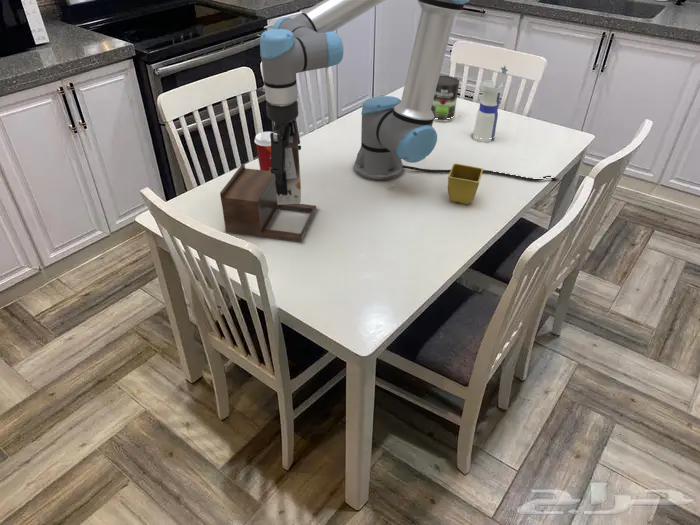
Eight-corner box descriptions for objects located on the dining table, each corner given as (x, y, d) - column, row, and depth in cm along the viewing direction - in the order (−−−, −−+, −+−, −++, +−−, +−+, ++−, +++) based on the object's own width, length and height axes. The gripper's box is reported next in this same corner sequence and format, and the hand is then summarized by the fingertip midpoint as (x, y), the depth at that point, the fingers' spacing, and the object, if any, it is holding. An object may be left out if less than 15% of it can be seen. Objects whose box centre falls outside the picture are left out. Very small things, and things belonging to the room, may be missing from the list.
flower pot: (478, 194, 161) (483, 167, 155) (474, 209, 154) (479, 182, 149) (449, 189, 163) (453, 162, 158) (444, 203, 157) (447, 176, 151)
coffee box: (301, 204, 139) (297, 147, 129) (276, 205, 139) (271, 148, 129) (301, 186, 146) (297, 131, 136) (277, 187, 146) (272, 132, 136)
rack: (316, 210, 153) (315, 172, 146) (301, 242, 141) (299, 202, 133) (246, 201, 156) (242, 164, 149) (226, 232, 144) (219, 193, 136)
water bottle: (477, 130, 197) (488, 60, 182) (498, 136, 193) (512, 66, 178) (467, 137, 192) (478, 67, 176) (489, 144, 188) (502, 72, 173)
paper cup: (278, 185, 164) (275, 143, 155) (255, 182, 165) (250, 140, 156) (286, 173, 170) (283, 131, 161) (263, 170, 171) (259, 129, 162)
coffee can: (454, 123, 202) (459, 86, 193) (426, 120, 203) (430, 84, 194) (454, 112, 210) (459, 76, 201) (428, 110, 211) (432, 74, 202)
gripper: (280, 82, 136) (287, 161, 149) (250, 119, 118) (260, 204, 132) (309, 84, 134) (313, 163, 148) (282, 121, 117) (289, 207, 131)
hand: (288, 182), depth 140 cm, fingers closed on coffee box, 10 cm apart
